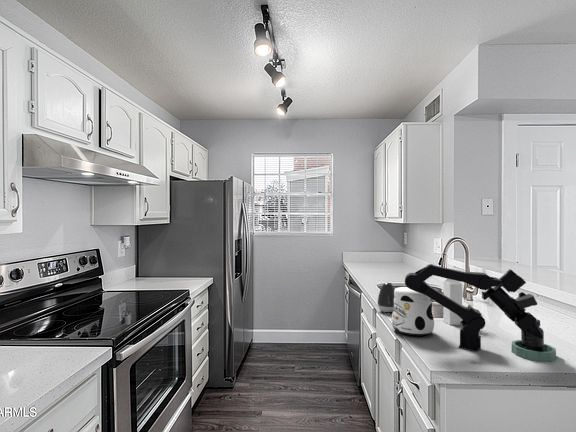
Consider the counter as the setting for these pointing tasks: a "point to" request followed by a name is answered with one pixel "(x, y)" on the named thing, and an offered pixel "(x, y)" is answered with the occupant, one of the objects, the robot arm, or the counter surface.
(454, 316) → the milk
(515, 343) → the cup
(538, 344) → the supplement bottle
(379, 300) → the black canister
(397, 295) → the milk container
